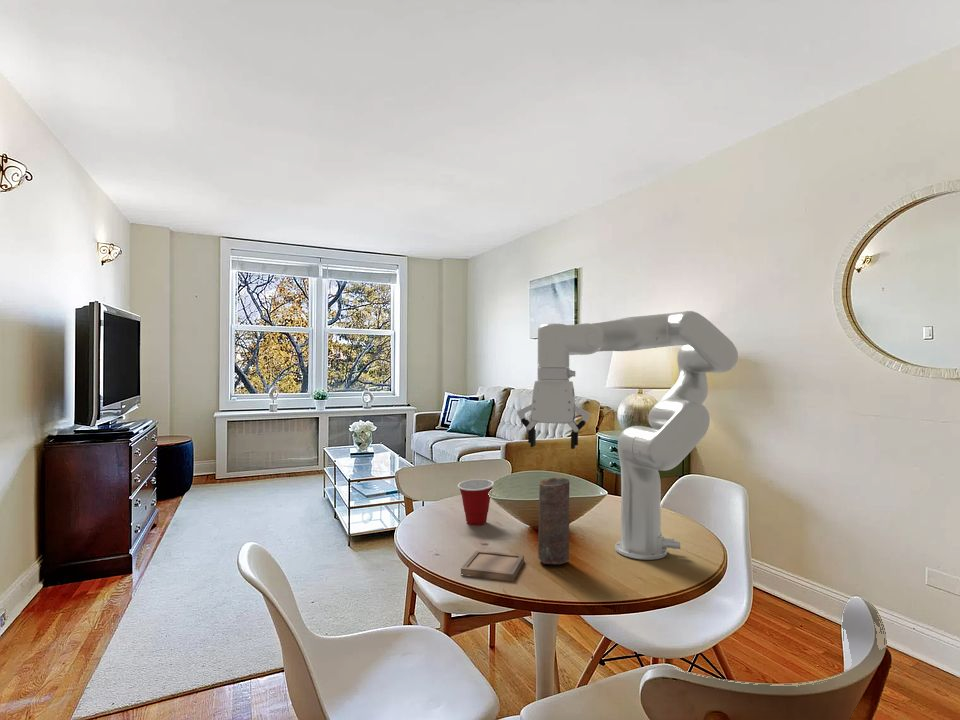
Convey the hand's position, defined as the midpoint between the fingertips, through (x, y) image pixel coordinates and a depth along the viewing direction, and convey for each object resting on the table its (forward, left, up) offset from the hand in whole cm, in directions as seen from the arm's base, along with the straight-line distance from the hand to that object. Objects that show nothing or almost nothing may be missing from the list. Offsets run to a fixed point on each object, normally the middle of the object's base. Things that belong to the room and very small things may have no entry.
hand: (552, 447), depth 127 cm
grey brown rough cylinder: (0, 0, -28) cm, 28 cm away
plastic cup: (+27, -25, -28) cm, 46 cm away
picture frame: (+13, +7, -28) cm, 31 cm away
